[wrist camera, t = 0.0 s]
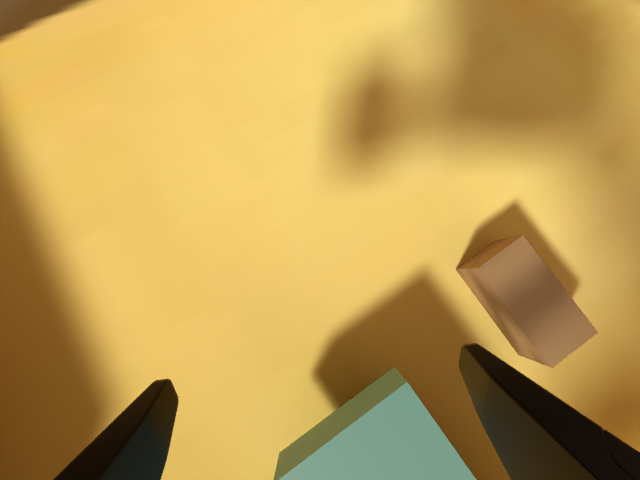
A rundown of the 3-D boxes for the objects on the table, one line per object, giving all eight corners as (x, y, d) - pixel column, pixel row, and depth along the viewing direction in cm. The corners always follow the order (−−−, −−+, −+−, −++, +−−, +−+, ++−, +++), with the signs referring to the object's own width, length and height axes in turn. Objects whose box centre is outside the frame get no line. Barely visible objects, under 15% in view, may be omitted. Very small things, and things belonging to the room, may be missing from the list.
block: (556, 324, 25) (597, 332, 21) (517, 354, 25) (552, 367, 21) (493, 241, 26) (523, 235, 22) (454, 269, 25) (478, 267, 22)
